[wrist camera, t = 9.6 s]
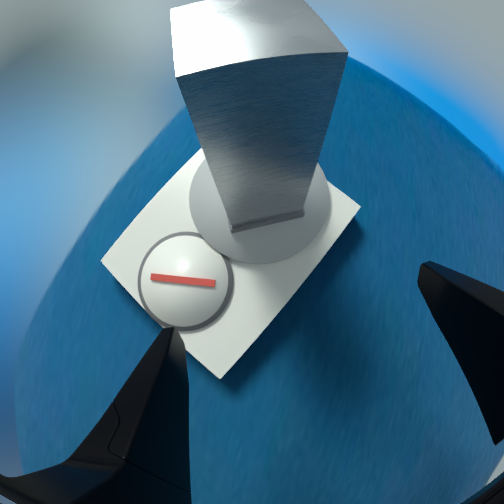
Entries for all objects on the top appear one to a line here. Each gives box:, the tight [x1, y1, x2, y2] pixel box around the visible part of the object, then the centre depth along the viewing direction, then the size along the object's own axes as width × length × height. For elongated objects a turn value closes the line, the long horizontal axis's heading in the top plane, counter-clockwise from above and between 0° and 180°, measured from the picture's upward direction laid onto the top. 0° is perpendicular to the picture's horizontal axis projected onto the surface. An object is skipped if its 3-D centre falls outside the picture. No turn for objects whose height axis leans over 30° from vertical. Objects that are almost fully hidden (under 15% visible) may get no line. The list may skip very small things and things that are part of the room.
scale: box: [101, 148, 361, 379], centre depth 20 cm, size 12×16×2 cm
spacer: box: [170, 0, 348, 234], centre depth 13 cm, size 5×5×13 cm
